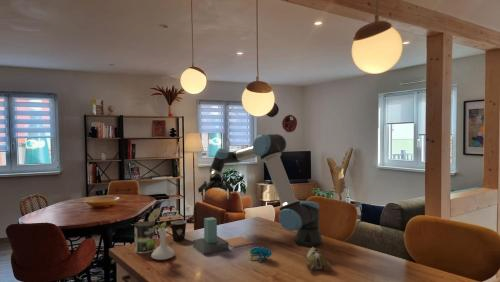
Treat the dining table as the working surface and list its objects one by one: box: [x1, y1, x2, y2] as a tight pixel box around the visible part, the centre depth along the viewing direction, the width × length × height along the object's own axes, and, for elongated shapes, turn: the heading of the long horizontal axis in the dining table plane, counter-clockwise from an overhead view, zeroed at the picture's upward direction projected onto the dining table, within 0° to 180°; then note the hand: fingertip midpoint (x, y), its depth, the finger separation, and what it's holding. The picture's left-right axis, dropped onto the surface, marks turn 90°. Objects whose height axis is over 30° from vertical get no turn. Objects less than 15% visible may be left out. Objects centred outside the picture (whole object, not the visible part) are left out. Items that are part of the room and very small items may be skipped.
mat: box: [224, 235, 254, 249], centre depth 185 cm, size 13×13×1 cm
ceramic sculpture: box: [305, 247, 332, 272], centre depth 149 cm, size 11×9×15 cm
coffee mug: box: [164, 219, 187, 242], centre depth 191 cm, size 12×9×10 cm
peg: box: [203, 216, 218, 244], centre depth 175 cm, size 5×5×16 cm
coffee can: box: [133, 220, 156, 254], centre depth 173 cm, size 10×10×14 cm
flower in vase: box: [147, 207, 176, 261], centre depth 162 cm, size 13×11×25 cm
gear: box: [249, 246, 273, 263], centre depth 158 cm, size 11×6×10 cm
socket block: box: [192, 235, 230, 256], centre depth 175 cm, size 14×14×4 cm
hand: (216, 197), depth 185 cm, fingers open, 13 cm apart
